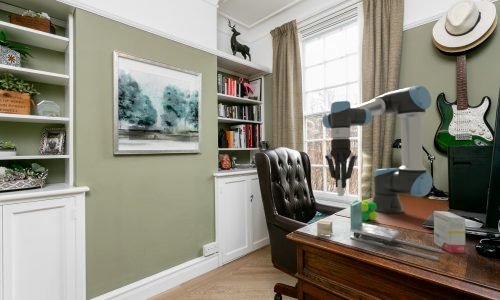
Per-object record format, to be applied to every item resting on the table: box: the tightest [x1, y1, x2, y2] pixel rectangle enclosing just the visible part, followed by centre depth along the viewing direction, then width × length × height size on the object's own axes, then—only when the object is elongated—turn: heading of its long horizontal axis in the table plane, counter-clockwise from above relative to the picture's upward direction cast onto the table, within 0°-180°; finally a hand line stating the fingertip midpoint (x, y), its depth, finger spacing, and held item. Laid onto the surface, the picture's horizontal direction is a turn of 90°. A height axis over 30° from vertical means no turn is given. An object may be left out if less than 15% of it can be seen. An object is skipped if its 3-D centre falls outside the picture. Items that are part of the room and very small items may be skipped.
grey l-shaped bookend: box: [350, 200, 400, 245], centre depth 90 cm, size 10×14×12 cm
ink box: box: [433, 210, 466, 254], centre depth 82 cm, size 9×5×12 cm, turn 173°
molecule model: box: [352, 199, 378, 222], centre depth 116 cm, size 9×9×9 cm
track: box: [349, 234, 442, 262], centre depth 85 cm, size 9×27×1 cm, turn 45°
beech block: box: [316, 219, 333, 236], centre depth 97 cm, size 5×5×5 cm
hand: (340, 195), depth 98 cm, fingers closed
